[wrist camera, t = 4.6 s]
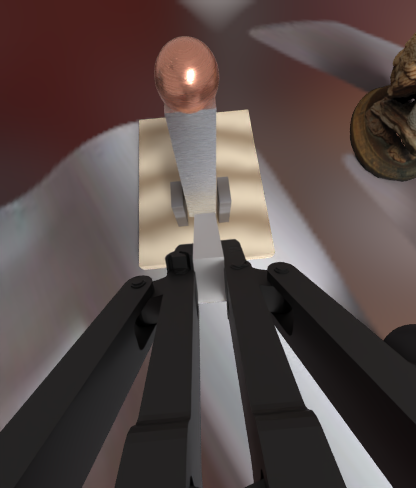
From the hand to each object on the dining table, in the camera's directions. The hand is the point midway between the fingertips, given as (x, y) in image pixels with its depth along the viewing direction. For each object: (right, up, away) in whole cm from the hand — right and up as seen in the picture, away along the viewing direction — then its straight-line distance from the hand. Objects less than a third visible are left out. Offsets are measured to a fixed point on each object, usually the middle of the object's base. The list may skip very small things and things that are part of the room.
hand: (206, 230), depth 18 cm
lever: (-1, +4, +10) cm, 10 cm away
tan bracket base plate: (-1, +7, +16) cm, 17 cm away
